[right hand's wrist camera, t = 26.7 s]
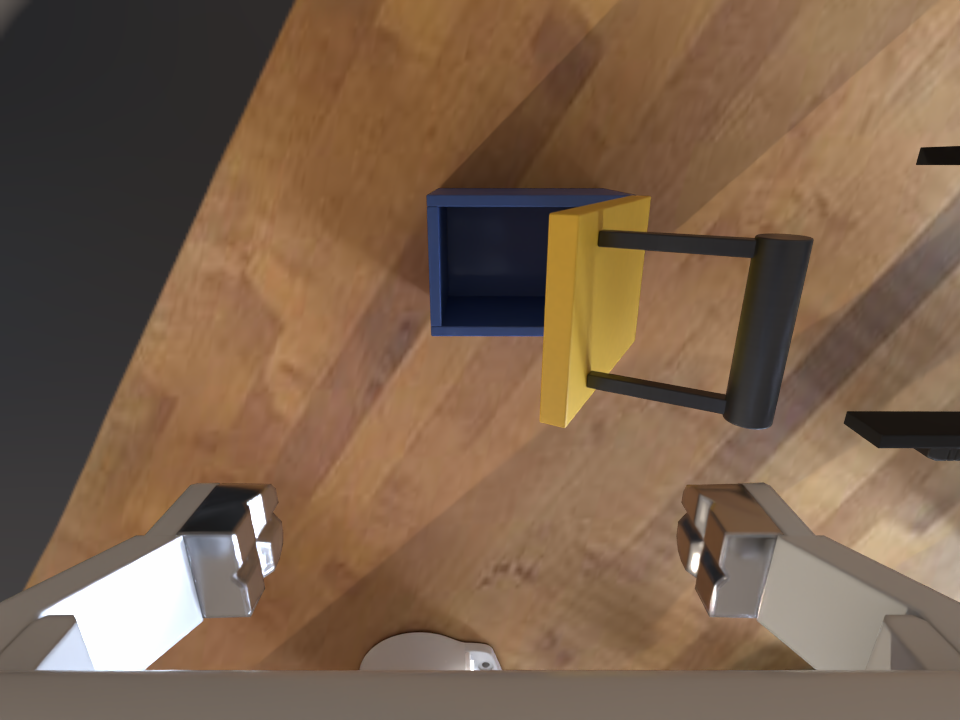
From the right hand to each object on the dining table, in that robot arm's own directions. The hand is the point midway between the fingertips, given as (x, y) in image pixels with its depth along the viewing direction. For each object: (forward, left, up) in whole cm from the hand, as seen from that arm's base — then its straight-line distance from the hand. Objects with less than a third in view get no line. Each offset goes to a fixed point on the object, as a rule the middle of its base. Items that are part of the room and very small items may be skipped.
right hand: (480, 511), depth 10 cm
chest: (-2, -3, -35) cm, 35 cm away
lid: (-3, -5, -19) cm, 20 cm away
